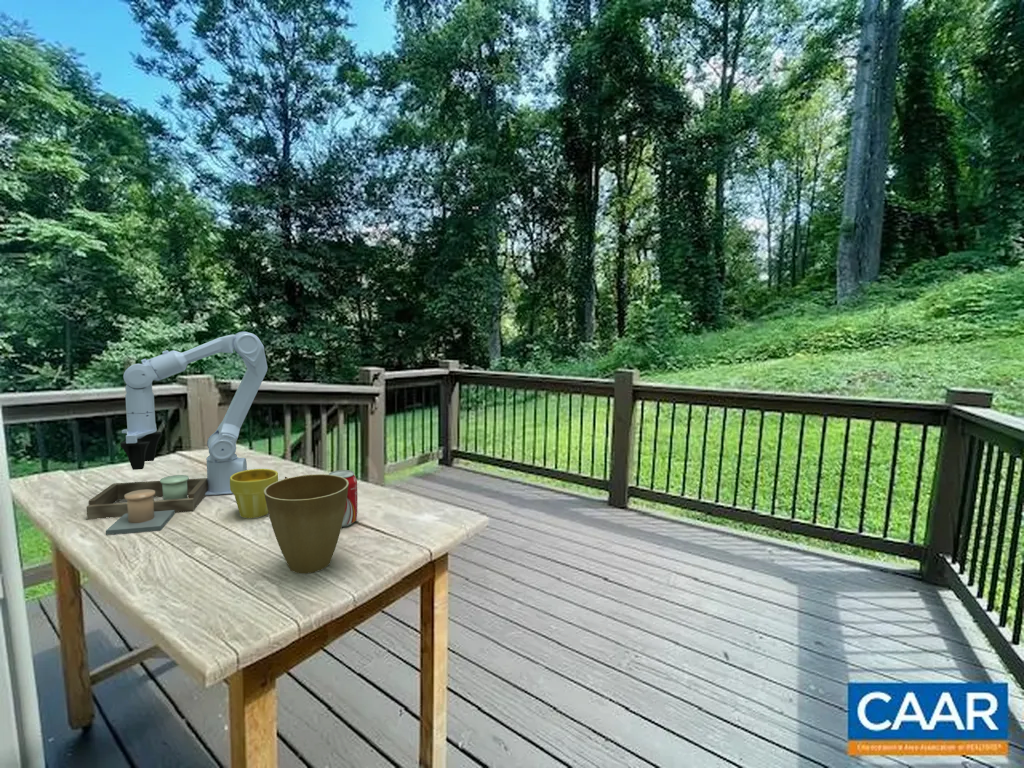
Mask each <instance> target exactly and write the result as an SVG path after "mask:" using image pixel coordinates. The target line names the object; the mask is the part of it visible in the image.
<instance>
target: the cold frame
mask: <svg viewBox="0 0 1024 768" xmlns="http://www.w3.org/2000/svg"><path fill="white" fill-rule="evenodd" d="M145 489H150V490H155V495H154V496H153V498H163V497H162V496H163V489H162V484H161V483H160V480H151V481H133V482H118V483H117V482H116V483H112V484H110V485H109V486H108V487H106V488H105V489H103V490H101V491H100V492H99V493H97V494H96V495H95V496H94V497H92V498H90V499H89V500H88V505H87V506H86V507H85V508H86V520H98V519H97V518H100V519H107V518H106V517H109V518H108V519H110V517H113V518H121V517H122V516H123V515H124V514H127V513H128V509H127V502H117V501H118V499H121V500H126V499H125V497H124V495H125V494H127V493H129V492H132V491H137V490H145ZM187 490H188V498H186V499H171V500H163V499H159V500H158V499H157V500H154V511H167V510H175V514H177V513H190V512H194V511H195V510H196V508H197V507H198V506H199V504H200V503H201V502H202V501H203V500H204V498H205V497H206V496H205V493H206V492H207V491H208V482H207V477H204V478H189V480H188V481H187ZM202 499H203V500H202ZM115 501H116V502H117V503H116V502H115Z"/></svg>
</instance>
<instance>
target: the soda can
mask: <svg viewBox="0 0 1024 768" xmlns="http://www.w3.org/2000/svg"><path fill="white" fill-rule="evenodd" d="M327 474H328V475H336V476H340V477H343V478H345V479H347V480H348V482H349V485H348V494H347V501H346V507H345V513H344V518H343V522H342V527H341V528H345V527H349V526H351V525H352V524H353V523H356V521H357V518H358V479H357V477H356V476H355V472H354V471H353V470H348V469H340V470H339V469H338V470H334V471H331V472H329V473H327Z"/></svg>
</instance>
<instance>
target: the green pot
mask: <svg viewBox="0 0 1024 768" xmlns="http://www.w3.org/2000/svg"><path fill="white" fill-rule="evenodd" d="M189 479H190V476H189V475H186V474H175V475H170V476H164V477H162V478H160V479H159V481H160V483H161V484H162V489H163V497H162V500H171V499H186V498H188V490H187V481H188V480H189Z"/></svg>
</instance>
